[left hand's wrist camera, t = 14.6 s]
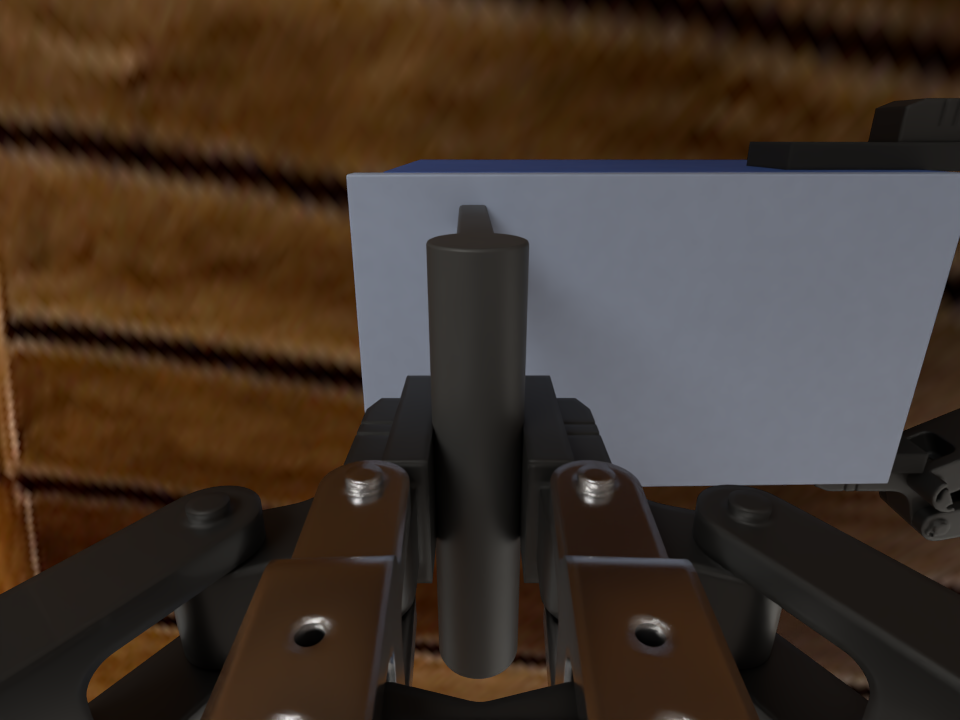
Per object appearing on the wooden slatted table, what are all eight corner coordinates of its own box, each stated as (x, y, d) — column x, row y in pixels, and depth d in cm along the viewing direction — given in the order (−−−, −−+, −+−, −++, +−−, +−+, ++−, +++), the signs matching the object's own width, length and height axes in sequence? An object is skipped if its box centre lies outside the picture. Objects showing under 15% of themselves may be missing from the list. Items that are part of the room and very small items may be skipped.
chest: (426, 363, 28) (399, 467, 19) (418, 159, 24) (382, 171, 16) (748, 364, 27) (871, 469, 19) (785, 159, 24) (953, 171, 15)
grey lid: (374, 476, 18) (312, 706, 11) (351, 172, 15) (240, 206, 8) (871, 470, 19) (1138, 688, 11) (954, 172, 15) (1407, 203, 8)
